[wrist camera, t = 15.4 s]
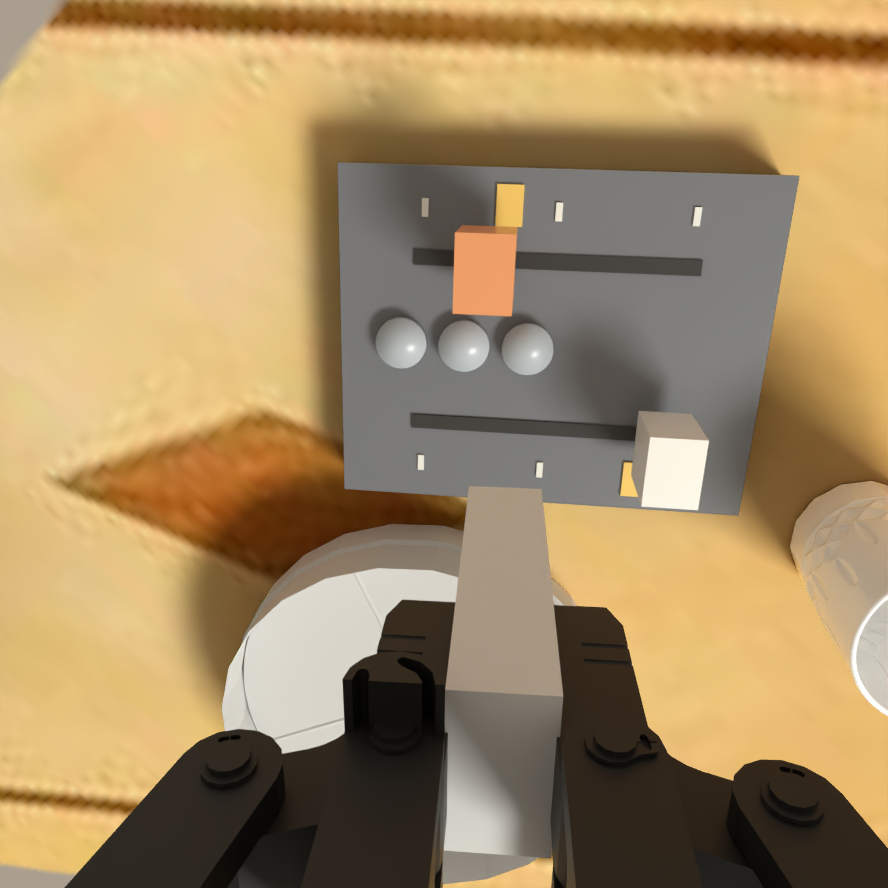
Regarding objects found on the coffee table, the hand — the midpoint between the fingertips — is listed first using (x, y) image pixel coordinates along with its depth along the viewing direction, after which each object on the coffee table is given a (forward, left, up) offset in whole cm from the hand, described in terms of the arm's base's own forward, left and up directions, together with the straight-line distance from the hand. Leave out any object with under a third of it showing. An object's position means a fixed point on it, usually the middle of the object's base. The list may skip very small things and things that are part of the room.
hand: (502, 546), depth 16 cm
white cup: (+19, -11, -24) cm, 32 cm away
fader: (-1, +3, -21) cm, 21 cm away
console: (+2, -1, -24) cm, 24 cm away
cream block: (+7, -5, -21) cm, 23 cm away
